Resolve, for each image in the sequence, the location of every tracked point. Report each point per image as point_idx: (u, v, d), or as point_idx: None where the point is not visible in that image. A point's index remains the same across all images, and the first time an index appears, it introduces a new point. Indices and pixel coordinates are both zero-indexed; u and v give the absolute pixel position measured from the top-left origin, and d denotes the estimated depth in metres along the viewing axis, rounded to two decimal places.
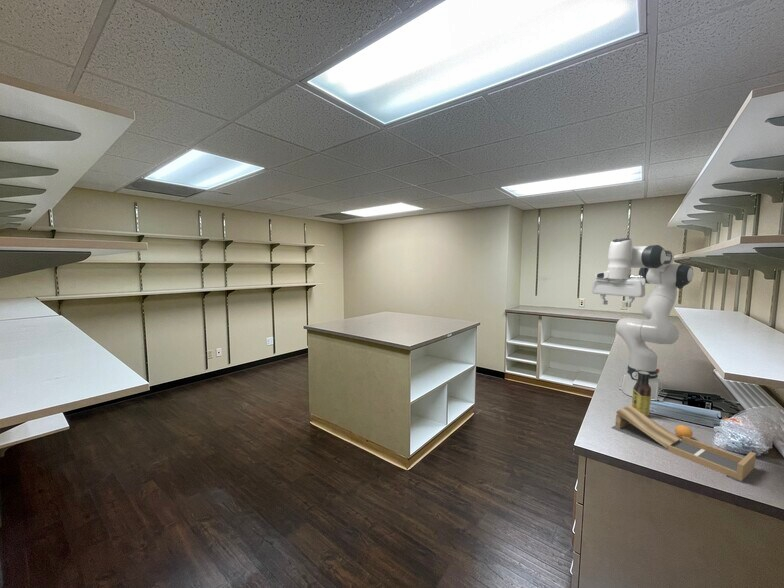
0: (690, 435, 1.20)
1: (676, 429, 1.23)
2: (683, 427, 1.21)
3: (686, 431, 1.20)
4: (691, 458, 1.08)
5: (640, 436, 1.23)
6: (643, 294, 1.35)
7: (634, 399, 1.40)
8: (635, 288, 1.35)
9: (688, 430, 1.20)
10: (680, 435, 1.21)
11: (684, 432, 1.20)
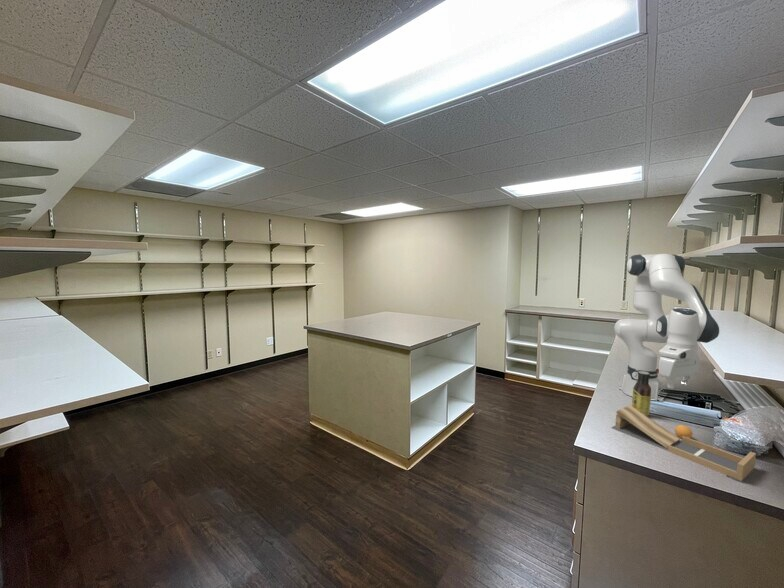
0: (690, 435, 1.20)
1: (676, 429, 1.23)
2: (683, 427, 1.21)
3: (686, 431, 1.20)
4: (691, 458, 1.08)
5: (640, 436, 1.23)
6: None
7: (634, 399, 1.40)
8: (696, 364, 1.24)
9: (688, 430, 1.20)
10: (680, 435, 1.21)
11: (684, 432, 1.20)
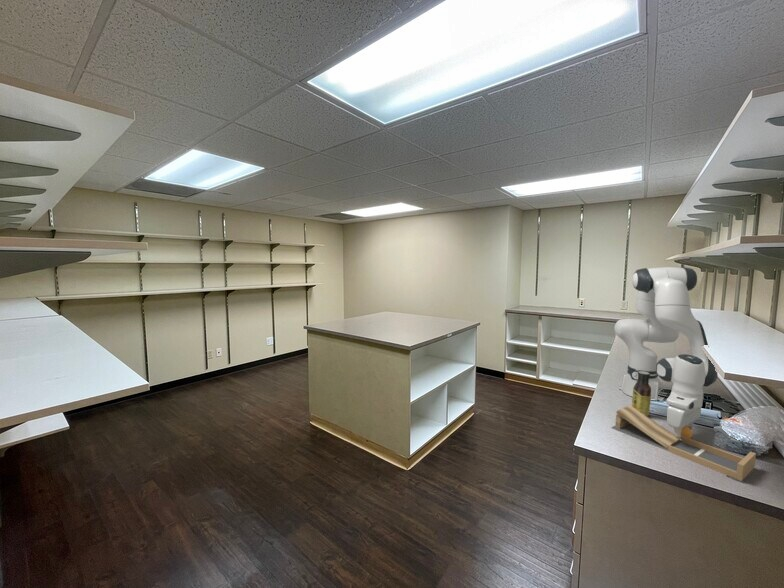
0: (690, 435, 1.20)
1: None
2: (683, 427, 1.21)
3: (686, 431, 1.20)
4: (691, 458, 1.08)
5: (640, 436, 1.23)
6: None
7: (634, 399, 1.40)
8: (699, 409, 1.24)
9: (688, 430, 1.20)
10: None
11: (684, 432, 1.20)
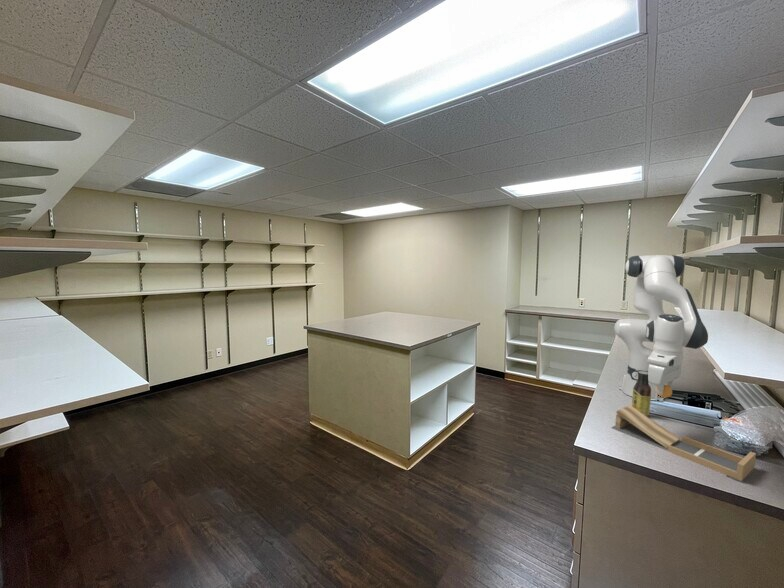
0: (670, 393, 1.21)
1: (656, 388, 1.24)
2: (663, 386, 1.23)
3: (666, 389, 1.22)
4: (691, 458, 1.08)
5: (640, 436, 1.23)
6: None
7: (634, 399, 1.40)
8: (679, 369, 1.25)
9: (668, 388, 1.22)
10: (660, 394, 1.23)
11: (664, 390, 1.22)
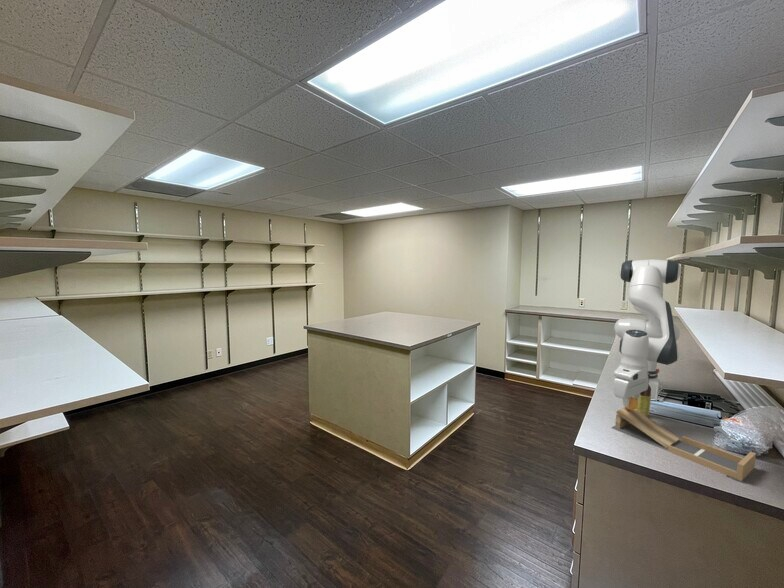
0: (635, 405, 1.26)
1: None
2: None
3: (632, 402, 1.27)
4: (691, 458, 1.08)
5: (640, 436, 1.23)
6: None
7: None
8: (646, 382, 1.30)
9: (634, 401, 1.27)
10: None
11: (630, 403, 1.27)
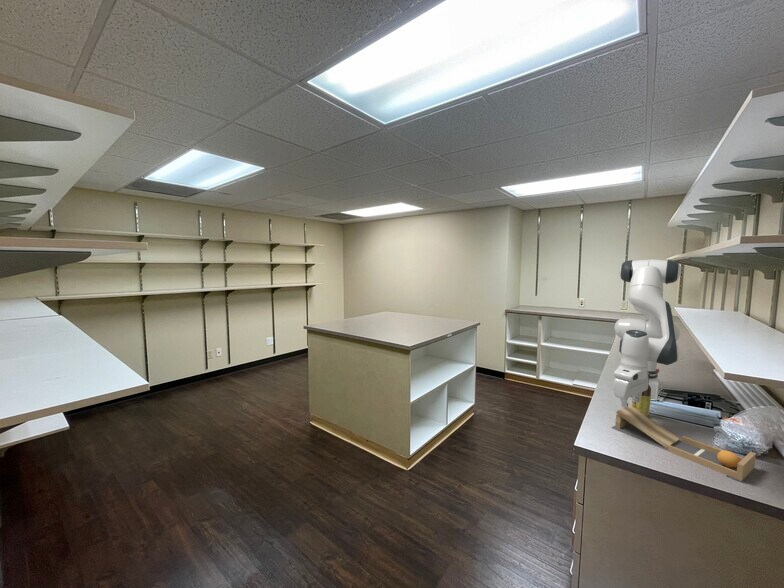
0: (731, 467, 1.04)
1: (725, 454, 1.04)
2: (735, 460, 1.02)
3: (733, 464, 1.02)
4: (691, 458, 1.08)
5: (640, 436, 1.23)
6: None
7: None
8: (646, 382, 1.30)
9: (736, 465, 1.02)
10: (721, 460, 1.04)
11: (730, 463, 1.03)
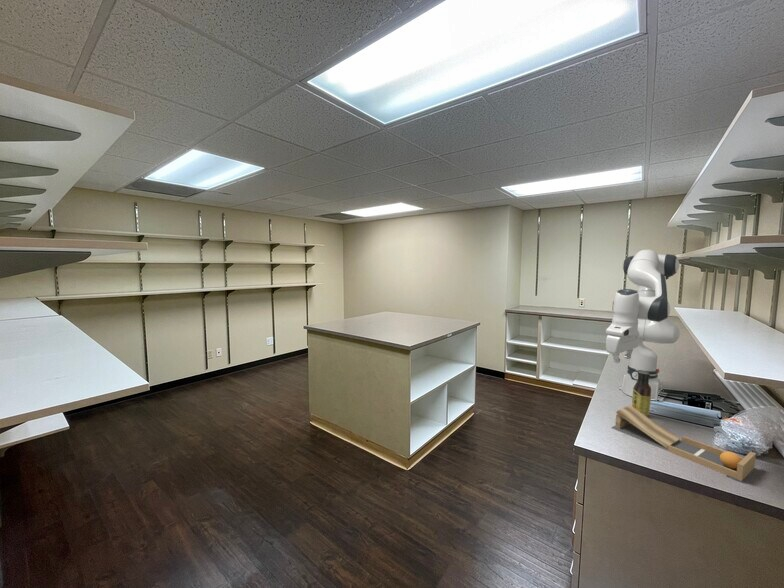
0: None
1: (729, 456, 1.03)
2: None
3: (735, 466, 1.02)
4: (691, 458, 1.08)
5: (640, 436, 1.23)
6: None
7: (634, 399, 1.40)
8: (637, 339, 1.36)
9: None
10: (724, 460, 1.04)
11: (732, 465, 1.02)
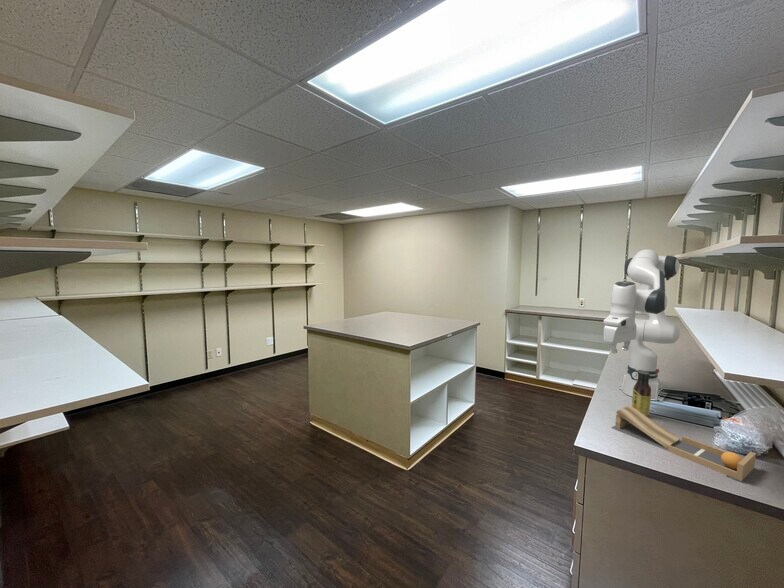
0: None
1: (731, 457, 1.03)
2: None
3: (736, 467, 1.02)
4: (691, 458, 1.08)
5: (640, 436, 1.23)
6: None
7: (634, 399, 1.40)
8: (634, 331, 1.38)
9: None
10: (725, 461, 1.04)
11: (733, 466, 1.02)
